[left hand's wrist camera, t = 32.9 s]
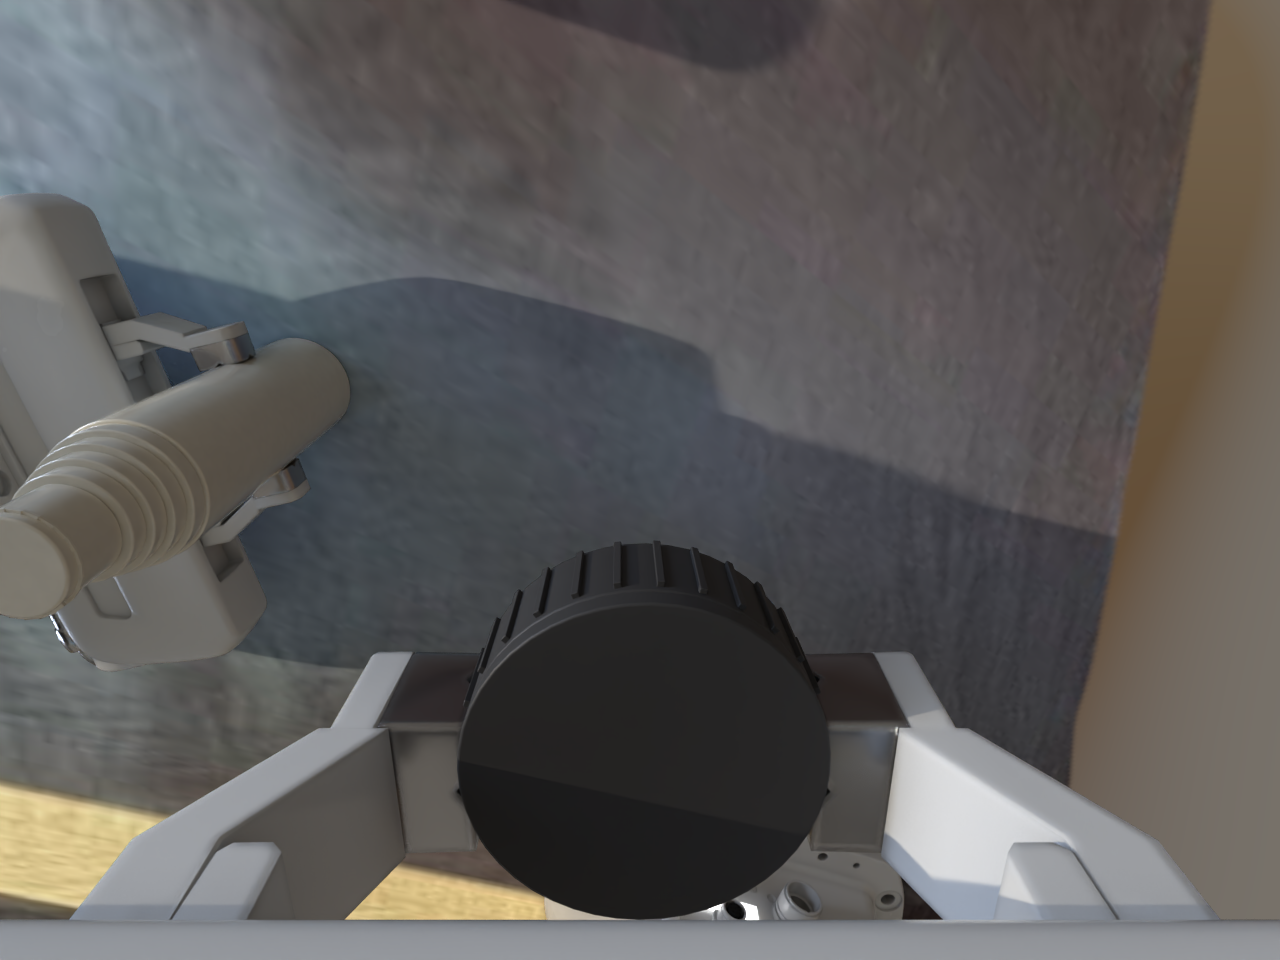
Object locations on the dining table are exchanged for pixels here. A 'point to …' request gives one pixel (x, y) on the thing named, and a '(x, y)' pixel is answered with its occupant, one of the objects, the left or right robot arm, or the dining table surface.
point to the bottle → (162, 473)
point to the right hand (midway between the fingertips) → (272, 410)
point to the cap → (642, 735)
